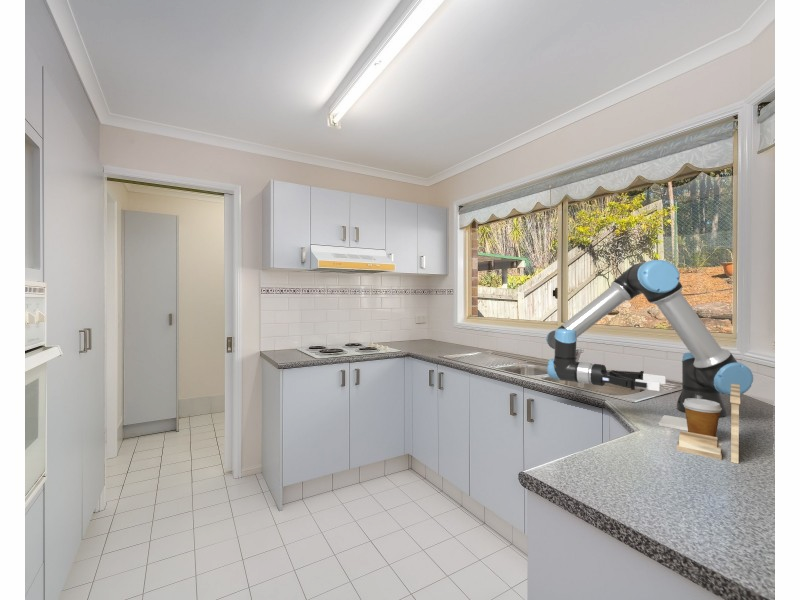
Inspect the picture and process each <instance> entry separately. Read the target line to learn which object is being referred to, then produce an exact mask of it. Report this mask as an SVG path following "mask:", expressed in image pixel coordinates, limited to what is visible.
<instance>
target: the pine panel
mask: <svg viewBox="0 0 800 600" xmlns="http://www.w3.org/2000/svg"><path fill="white" fill-rule="evenodd" d="M729 403H730V405H731V406H730V407H731V409H730V410H731V412H730V414H731V415H730V416H731V417H730V420H731V421H730V423H731V424H730V425H731V427H730V429H731V430H730V431H731V432H730V463H734V464H738V465H739V454H740V453H739V450H740V448H739V447H740V446H739V442H740V440H739V439H740V438H739V433H740V432H739V430H740V429H739V427H740V425H739V423H740V405H741V395H740V385H739V384H732V383H731V393H730V395H729Z"/></svg>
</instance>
